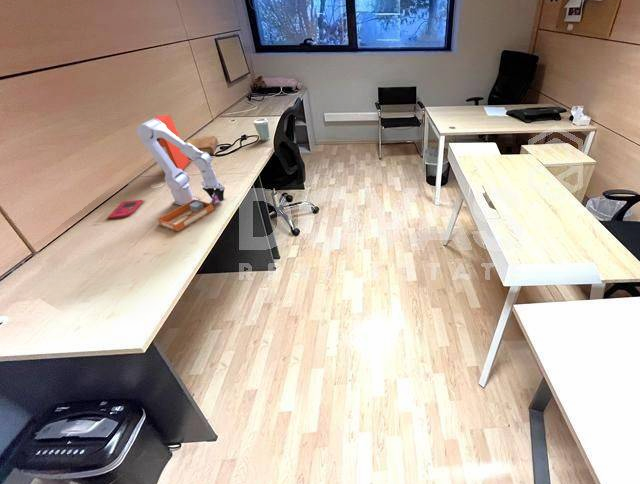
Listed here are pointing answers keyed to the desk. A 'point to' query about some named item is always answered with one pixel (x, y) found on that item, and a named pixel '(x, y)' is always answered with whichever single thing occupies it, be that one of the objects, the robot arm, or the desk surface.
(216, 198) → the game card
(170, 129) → the file binder
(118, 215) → the handheld gaming console
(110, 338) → the desk surface
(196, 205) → the small cube
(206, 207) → the wooden tray
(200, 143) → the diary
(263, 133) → the disposable coffee cup
